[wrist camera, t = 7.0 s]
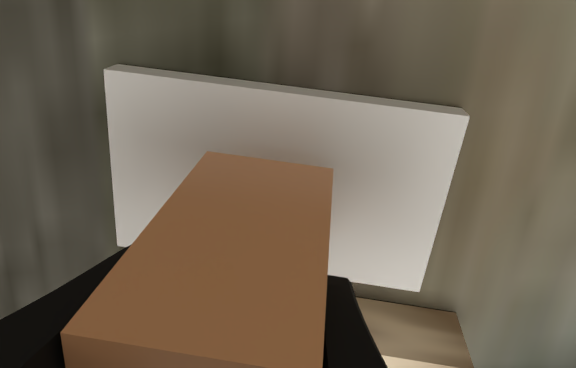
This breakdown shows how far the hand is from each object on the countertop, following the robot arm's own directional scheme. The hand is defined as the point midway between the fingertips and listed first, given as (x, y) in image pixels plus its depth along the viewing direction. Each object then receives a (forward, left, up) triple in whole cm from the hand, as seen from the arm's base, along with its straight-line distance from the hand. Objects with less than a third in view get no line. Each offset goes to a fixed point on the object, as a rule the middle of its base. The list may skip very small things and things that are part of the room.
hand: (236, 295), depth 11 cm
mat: (0, 0, -7) cm, 7 cm away
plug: (0, 0, -4) cm, 4 cm away
